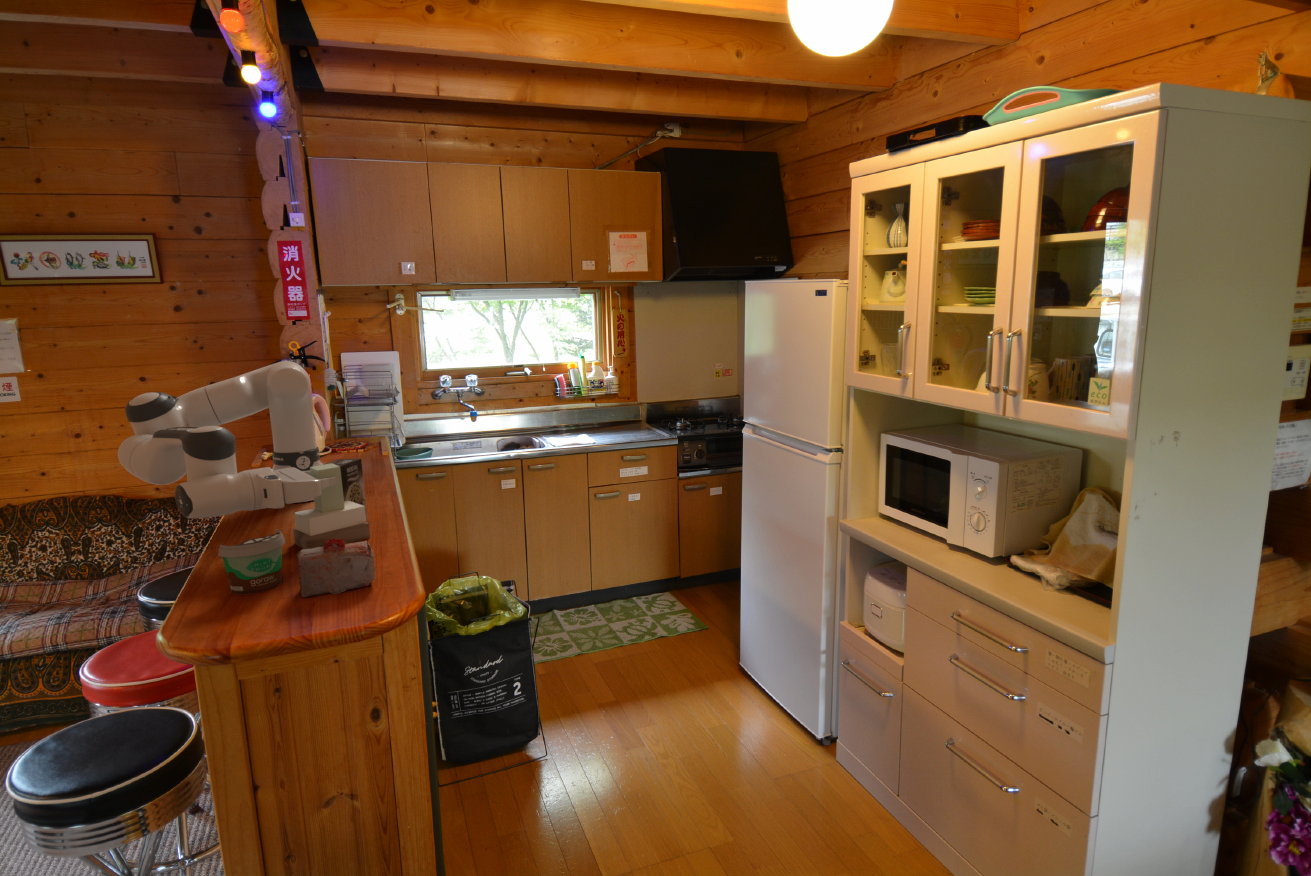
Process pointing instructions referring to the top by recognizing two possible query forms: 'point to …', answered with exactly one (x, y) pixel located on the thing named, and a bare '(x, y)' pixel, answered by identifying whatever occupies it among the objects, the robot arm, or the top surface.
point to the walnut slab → (332, 536)
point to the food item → (335, 567)
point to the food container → (254, 564)
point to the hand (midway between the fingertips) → (329, 477)
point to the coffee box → (352, 480)
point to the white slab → (329, 519)
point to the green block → (328, 488)
